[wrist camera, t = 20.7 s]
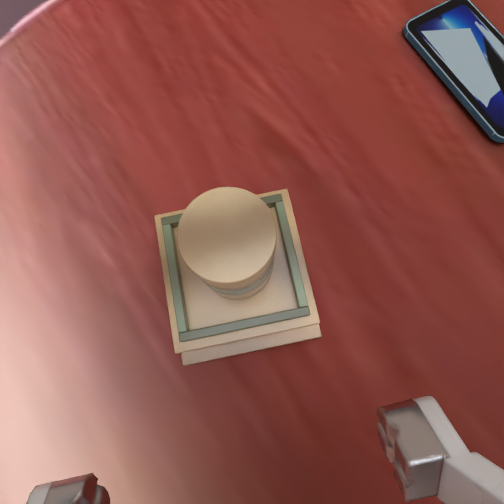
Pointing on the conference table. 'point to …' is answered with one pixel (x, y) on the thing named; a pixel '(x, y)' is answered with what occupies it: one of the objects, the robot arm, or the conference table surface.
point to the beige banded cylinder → (229, 241)
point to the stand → (239, 311)
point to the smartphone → (464, 58)
